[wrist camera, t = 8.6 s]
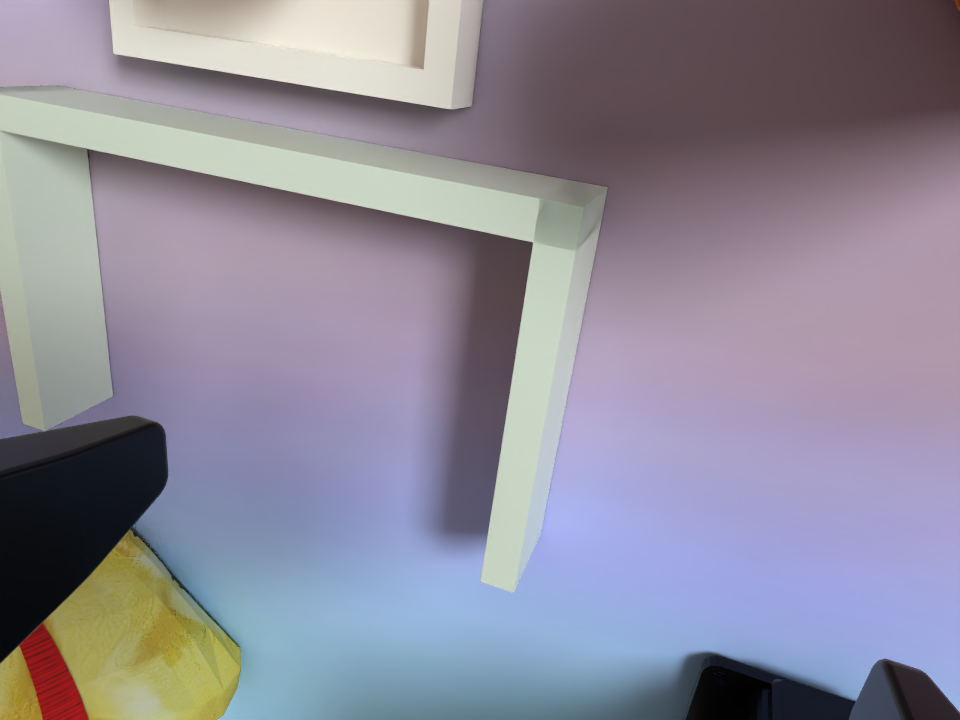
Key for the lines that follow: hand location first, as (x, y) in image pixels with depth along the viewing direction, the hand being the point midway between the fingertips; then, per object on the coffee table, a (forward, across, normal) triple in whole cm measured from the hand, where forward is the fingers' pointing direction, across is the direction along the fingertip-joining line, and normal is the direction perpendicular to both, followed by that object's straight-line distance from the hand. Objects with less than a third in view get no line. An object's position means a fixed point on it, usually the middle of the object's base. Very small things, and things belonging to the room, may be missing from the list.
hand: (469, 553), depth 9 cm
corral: (+12, +10, +3) cm, 16 cm away
